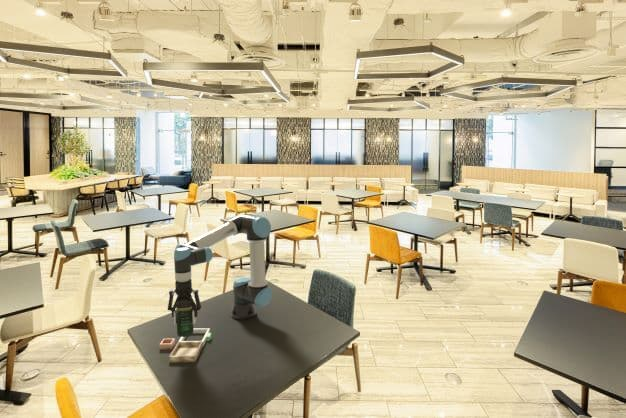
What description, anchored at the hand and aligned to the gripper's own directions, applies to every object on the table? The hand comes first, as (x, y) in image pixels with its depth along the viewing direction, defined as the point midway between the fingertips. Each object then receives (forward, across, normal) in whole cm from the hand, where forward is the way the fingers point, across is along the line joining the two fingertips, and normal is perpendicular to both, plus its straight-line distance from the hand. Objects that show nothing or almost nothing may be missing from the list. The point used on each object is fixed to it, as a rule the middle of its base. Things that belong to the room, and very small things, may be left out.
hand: (185, 323), depth 184 cm
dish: (+17, +12, -8) cm, 22 cm away
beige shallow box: (+17, 0, 0) cm, 17 cm away
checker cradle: (+17, 0, -15) cm, 23 cm away
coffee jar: (+6, 0, 0) cm, 6 cm away
